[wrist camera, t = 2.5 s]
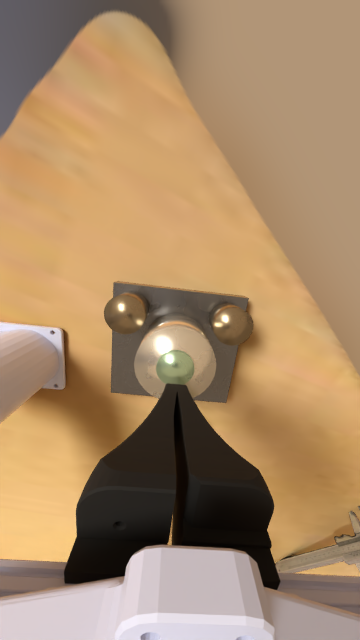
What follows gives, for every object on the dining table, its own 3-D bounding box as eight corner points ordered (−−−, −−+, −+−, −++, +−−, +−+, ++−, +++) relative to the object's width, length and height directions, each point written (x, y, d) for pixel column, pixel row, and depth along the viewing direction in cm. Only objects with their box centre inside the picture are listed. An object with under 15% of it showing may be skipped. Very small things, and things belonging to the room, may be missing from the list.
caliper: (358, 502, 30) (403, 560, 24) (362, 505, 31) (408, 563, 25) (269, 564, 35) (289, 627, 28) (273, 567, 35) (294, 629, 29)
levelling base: (112, 455, 27) (91, 517, 20) (118, 281, 20) (89, 287, 14) (227, 464, 27) (243, 526, 21) (267, 298, 21) (308, 312, 14)
